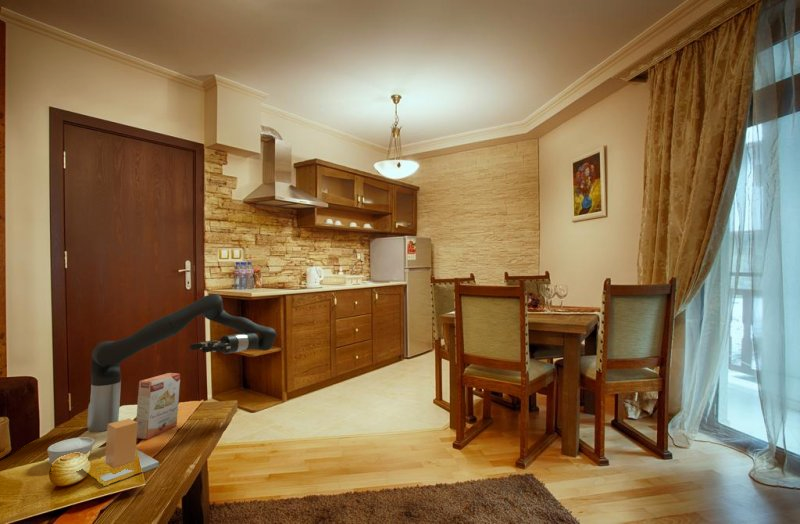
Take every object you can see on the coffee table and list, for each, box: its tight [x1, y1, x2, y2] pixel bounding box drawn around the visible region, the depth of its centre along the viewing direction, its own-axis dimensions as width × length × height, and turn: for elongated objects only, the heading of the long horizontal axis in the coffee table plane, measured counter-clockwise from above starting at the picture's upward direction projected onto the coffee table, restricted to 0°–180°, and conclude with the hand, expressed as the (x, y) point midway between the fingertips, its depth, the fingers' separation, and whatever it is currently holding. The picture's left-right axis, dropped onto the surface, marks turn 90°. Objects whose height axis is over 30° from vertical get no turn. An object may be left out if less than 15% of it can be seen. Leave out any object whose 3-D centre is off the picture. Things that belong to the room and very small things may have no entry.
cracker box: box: [135, 372, 181, 440], centre depth 143 cm, size 14×6×21 cm, turn 168°
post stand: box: [100, 448, 160, 482], centre depth 115 cm, size 18×14×8 cm
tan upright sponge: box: [105, 418, 138, 469], centre depth 116 cm, size 6×6×12 cm
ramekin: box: [46, 436, 95, 465], centre depth 119 cm, size 11×11×5 cm
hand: (196, 348), depth 144 cm, fingers open, 8 cm apart
